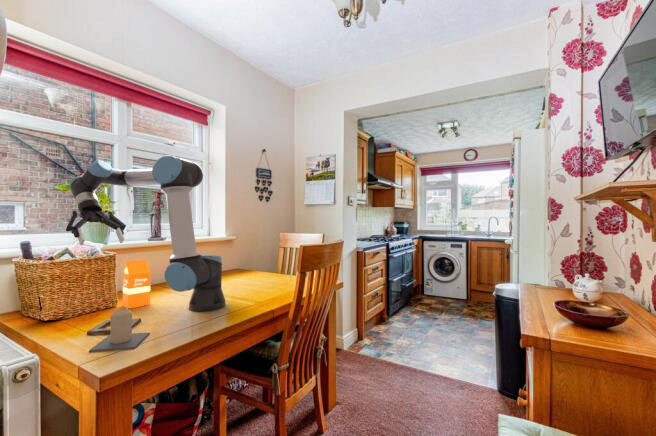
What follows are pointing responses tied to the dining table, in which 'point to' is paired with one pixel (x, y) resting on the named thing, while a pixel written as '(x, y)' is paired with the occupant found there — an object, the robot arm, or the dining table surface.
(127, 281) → the orange juice
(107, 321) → the grey square frame
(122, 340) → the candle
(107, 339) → the charcoal mat
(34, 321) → the dining table surface
